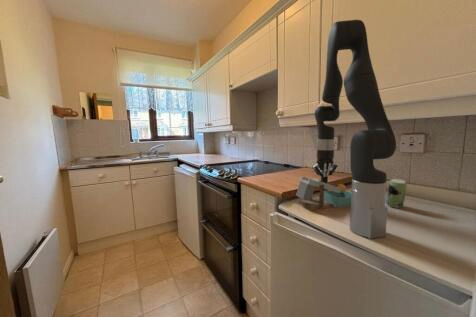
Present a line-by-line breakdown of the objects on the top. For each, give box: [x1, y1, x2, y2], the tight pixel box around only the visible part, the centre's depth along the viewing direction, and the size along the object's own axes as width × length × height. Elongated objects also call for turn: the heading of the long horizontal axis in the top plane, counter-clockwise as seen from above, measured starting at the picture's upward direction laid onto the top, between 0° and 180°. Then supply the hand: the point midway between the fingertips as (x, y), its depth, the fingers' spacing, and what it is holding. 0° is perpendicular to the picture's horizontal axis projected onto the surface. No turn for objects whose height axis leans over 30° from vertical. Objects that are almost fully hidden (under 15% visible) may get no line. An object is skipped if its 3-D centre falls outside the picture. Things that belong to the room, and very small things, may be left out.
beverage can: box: [385, 178, 408, 209], centre depth 86 cm, size 6×7×12 cm
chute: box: [295, 175, 341, 201], centre depth 93 cm, size 17×12×10 cm
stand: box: [297, 185, 335, 211], centre depth 90 cm, size 12×10×10 cm
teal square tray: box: [324, 189, 351, 208], centre depth 94 cm, size 12×12×4 cm
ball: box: [336, 183, 347, 193], centre depth 93 cm, size 4×4×4 cm
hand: (324, 184), depth 98 cm, fingers closed
